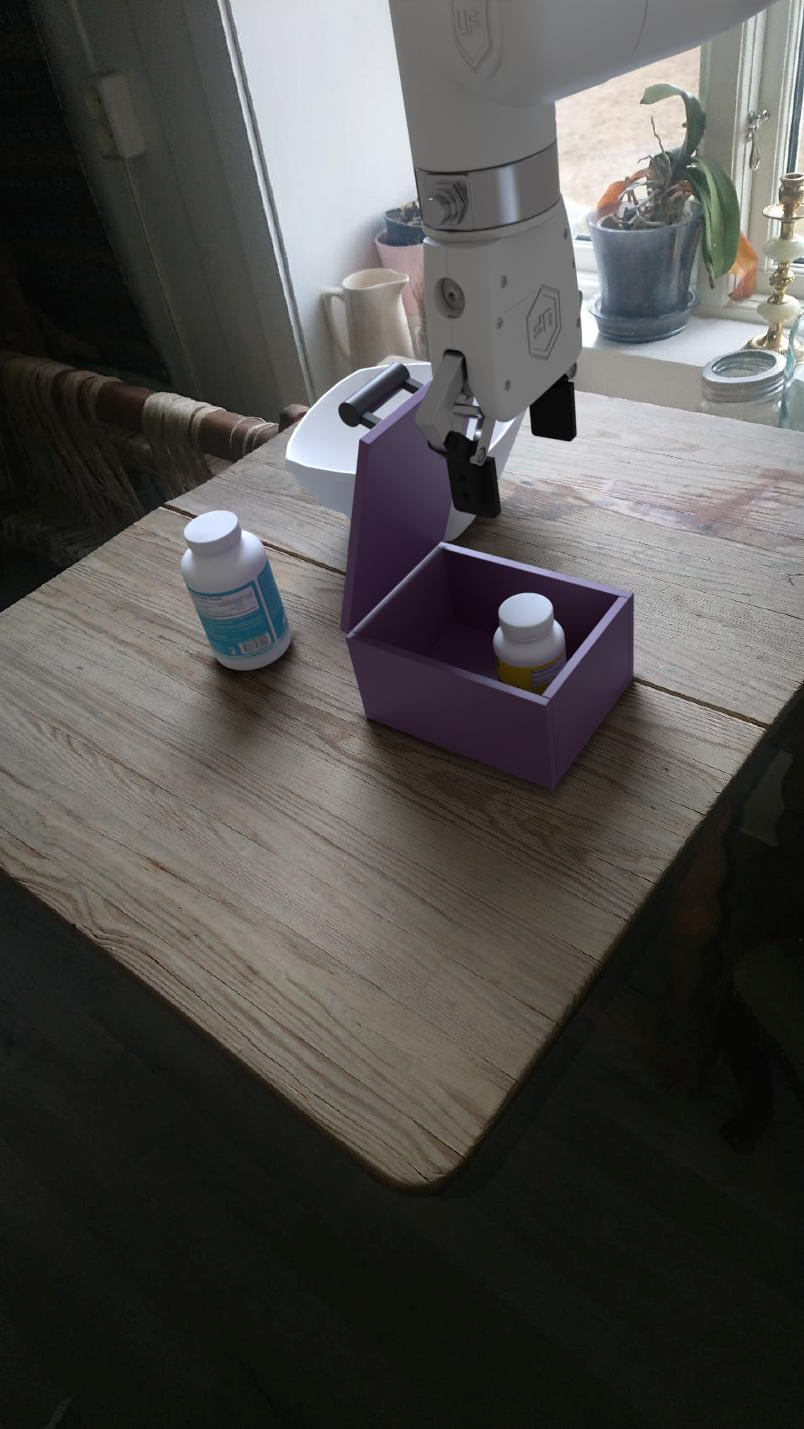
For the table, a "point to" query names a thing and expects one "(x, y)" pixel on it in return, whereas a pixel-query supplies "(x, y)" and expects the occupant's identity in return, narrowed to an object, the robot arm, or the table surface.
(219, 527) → the pill bottle
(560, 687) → the purple box
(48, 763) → the table surface
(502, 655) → the supplement bottle
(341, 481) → the bowl
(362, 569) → the lid
